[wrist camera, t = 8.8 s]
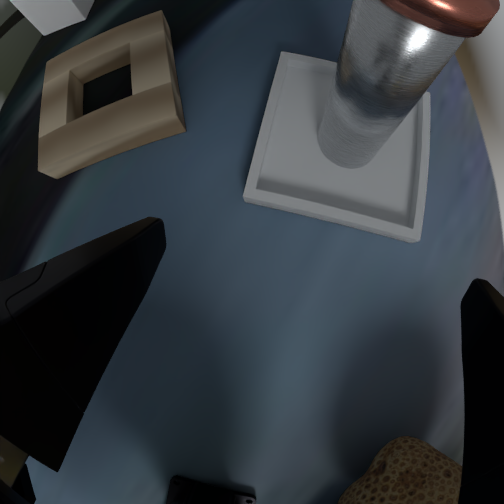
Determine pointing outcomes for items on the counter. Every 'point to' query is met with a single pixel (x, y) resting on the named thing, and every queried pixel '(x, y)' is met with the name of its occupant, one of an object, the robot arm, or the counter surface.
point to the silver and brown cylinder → (390, 69)
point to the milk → (53, 13)
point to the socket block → (118, 113)
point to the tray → (329, 174)
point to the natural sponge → (407, 476)
